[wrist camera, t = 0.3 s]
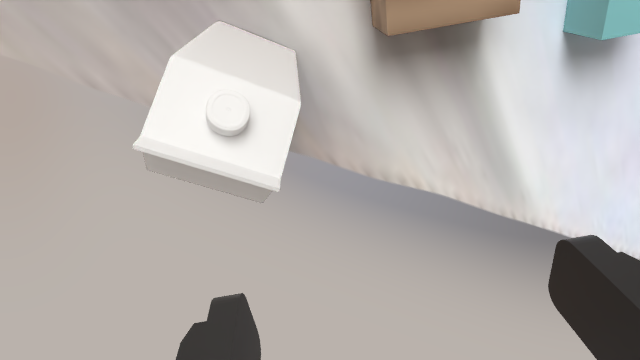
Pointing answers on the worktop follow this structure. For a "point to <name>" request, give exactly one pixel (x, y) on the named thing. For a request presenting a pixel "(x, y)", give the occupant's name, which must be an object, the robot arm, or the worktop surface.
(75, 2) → the worktop surface
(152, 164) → the milk carton
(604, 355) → the robot arm
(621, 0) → the teal cube
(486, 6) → the walnut base block
